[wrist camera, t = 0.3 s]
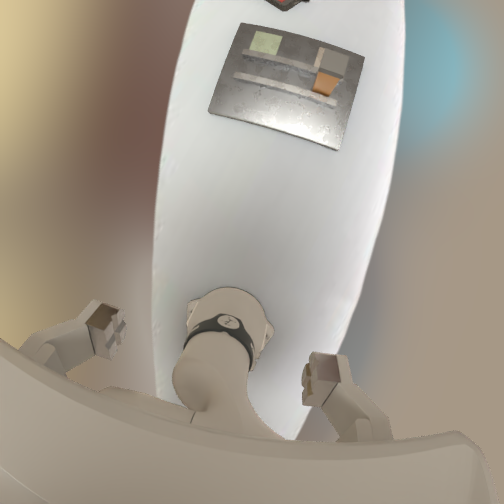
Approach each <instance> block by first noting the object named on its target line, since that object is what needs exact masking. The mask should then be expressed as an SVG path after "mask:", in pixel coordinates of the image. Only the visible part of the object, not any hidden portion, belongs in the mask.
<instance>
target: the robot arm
mask: <svg viewBox="0 0 504 504" xmlns="http://www.w3.org/2000/svg"><path fill="white" fill-rule="evenodd" d="M124 317H125V313H124V310H123V309H121V308H118V307H115V306H112V305H109V304H107V303H103V302H101V301H98V300H92V301H91V302H90V303H89V305H88V306H87V307H86V308H85V309H84V310H83V311H82V313H81V314H80V315H79V316H78V317H77V318H76V319H75V320H74V319H71V320H69V321H66V322H63V323H60V324H58V325H55V326H52V327H49V328H47V329H44V330H41V331H39V332H36V333H33V334H32V335H31V336H30V337H29V338H28V339H27V340H26V342H25V343H24V344H23V345H22V346H21V347H20V348H19V350H17V349H15V348H14V347H13V346H11V345H10V344H8V343H7V342H5V341H4V340H2V339H1V338H0V504H499V499H498V495H497V491H496V487H495V484H494V480H493V477H492V474H491V471H490V468H489V465H488V462H487V460H486V458H485V456H484V453H483V452H482V450H481V448H480V447H479V446H478V445H476V444H475V443H474V442H473V441H472V440H471V439H469V438H468V437H467V436H466V435H464V434H463V433H462V432H460V431H449V432H445V433H440V434H434V435H428V436H421V437H414V438H406V439H397V440H393V435H392V431H391V426H390V422H389V419H388V417H387V416H386V415H385V414H384V413H383V412H382V411H381V409H380V408H379V407H378V406H377V405H376V404H375V403H374V402H373V401H372V400H371V399H370V398H369V397H368V396H367V395H366V394H365V393H364V392H363V391H362V390H361V389H360V388H359V387H358V385H357V384H353V381H352V377H351V372H350V367H349V363H348V359H347V356H346V355H337V354H335V355H334V354H328V353H320V352H312V353H311V355H310V357H309V363H307V364H306V365H305V367H304V370H303V373H302V386H303V387H304V390H303V392H302V404H303V405H305V406H314V407H321V409H322V410H323V412H324V413H325V415H326V416H327V418H328V420H329V421H330V423H331V424H332V426H333V427H334V428H335V430H336V432H337V433H338V434H339V436H340V438H339V439H338V440H337V441H336V442H312V441H296V440H285V439H284V438H283V437H282V436H280V435H279V434H277V433H276V432H274V431H273V430H272V429H271V428H269V427H268V426H267V425H266V424H265V423H264V422H263V421H262V420H261V418H260V417H259V416H258V414H257V413H256V412H255V410H254V408H253V407H252V405H251V403H250V401H249V398H248V395H247V379H248V372H249V371H252V370H253V369H254V367H255V365H256V361H255V359H259V357H260V355H261V353H260V352H261V351H262V350H263V348H264V347H265V345H266V344H267V343H268V341H269V340H270V338H271V337H272V336H273V334H274V328H273V326H272V325H271V324H270V323H269V322H268V321H267V319H266V317H265V313H264V310H263V308H262V306H261V305H260V303H259V302H258V301H257V300H256V299H255V298H254V297H253V296H252V295H250V294H249V293H247V292H245V291H243V290H240V289H236V288H229V287H226V288H219V289H216V290H213V291H211V292H209V293H208V294H207V295H205V296H204V297H202V298H200V299H195V300H192V301H190V302H189V303H188V305H187V324H186V326H187V338H186V340H185V344H184V349H183V352H182V354H181V356H180V358H179V360H178V362H177V364H176V366H175V367H174V370H173V374H172V382H173V386H174V389H175V391H176V394H177V395H178V397H179V399H180V400H181V402H182V403H183V404H184V405H185V406H186V407H187V408H185V407H182V406H179V405H176V404H173V403H170V402H167V401H164V400H162V399H159V398H156V397H154V396H151V395H149V394H146V393H142V392H137V391H133V390H128V389H123V388H119V387H114V386H109V387H106V388H104V389H102V390H100V391H99V392H97V391H94V390H92V389H90V388H88V387H85V386H83V385H81V384H79V383H77V382H75V381H73V380H70V379H69V378H67V375H66V372H68V371H70V370H71V369H73V368H75V367H76V366H78V365H80V364H81V363H83V362H85V361H87V360H88V359H90V358H92V357H93V356H95V355H97V356H100V357H103V358H106V359H109V360H112V358H113V357H114V355H115V353H116V351H117V345H119V344H121V343H122V342H123V340H124V338H125V334H126V323H125V322H124V321H123V318H124ZM266 335H267V336H266Z"/></svg>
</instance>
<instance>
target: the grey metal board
mask: <svg viewBox="0 0 504 504" xmlns="http://www.w3.org/2000/svg"><path fill="white" fill-rule="evenodd" d="M325 48H327V49H330V50H333V51H336V52H338V53H341V54H344V55H347V56H349V60H348V63H347V67H346V70H345V74H344V77H343V78H342V80H341V79H340V80H339V81H338V83H337V84H336V86H335V87H334V89H333V91H332V92H331V94H330V95H329V97H327V96H324V95H321V94H318V93H315V92H312V89H313V86H314V83H315V79H316V77H317V74H318V69H319V66H320V63H321V60H322V56H323V53H324V50H325ZM364 59H365V57H363V56H361V55H358V54H356V53H353V52H351V51H348V50H345V49H342V48H340V47H337V46H334V45H331V44H328V43H325V42H322V41H319V40H315V39H312V38H309V37H305V36H302V35H298V34H294V33H290V32H286V31H282V30H277V29H273V28H268V27H263V26H258V25H252V24H246V23H241V24H240V26H239V28H238V31H237V33H236V35H235V38H234V40H233V43H232V45H231V48H230V50H229V53H228V55H227V58H226V61H225V63H224V66H223V69H222V71H221V74H220V77H219V79H218V82H217V85H216V88H215V91H214V94H213V96H212V99H211V102H210V105H209V108H208V112H209V113H210V114H215V115H219V116H224V117H228V118H232V119H236V120H240V121H244V122H248V123H252V124H256V125H259V126H263V127H266V128H270V129H273V130H277V131H280V132H283V133H286V134H290V135H293V136H296V137H299V138H302V139H305V140H308V141H311V142H314V143H317V144H319V145H322V146H325V147H328V148H330V149H333V150H336V151H338V150H339V148H340V145H341V142H342V138H343V135H344V132H345V128H346V125H347V121H348V118H349V115H350V111H351V108H352V104H353V100H354V97H355V93H356V90H357V86H358V82H359V78H360V74H361V71H362V67H363V63H364Z"/></svg>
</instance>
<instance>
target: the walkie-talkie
mask: <svg viewBox="0 0 504 504" xmlns="http://www.w3.org/2000/svg"><path fill="white" fill-rule="evenodd" d="M266 1H268V2H269V3H270V4H272V5H274V6H276V7H277V8H278V9H280V10H282V11H288V10H289V9H291V8H292V7H294V6H295V5H297V4H298V3H300V2H301V1H309V0H266Z"/></svg>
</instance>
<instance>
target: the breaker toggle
mask: <svg viewBox="0 0 504 504" xmlns="http://www.w3.org/2000/svg"><path fill="white" fill-rule="evenodd" d="M348 60H349V56H347V55H344V54H341V53H338V52H336V51H333V50H330V49H327V48H325V50H324V53H323V56H322V60H321V63H320V66H319V69H318V74H317V77H316V79H315V83H314V86H313V89H312V92H315V93H318V94H321V95H324V96H327V97H329V95H330V94H331V92H332V91H333V89H334V87H335V86H336V84H337V83H338V81H339V80H340V79H341V80H342V78H343V77H344V74H345V70H346V67H347V63H348Z"/></svg>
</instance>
